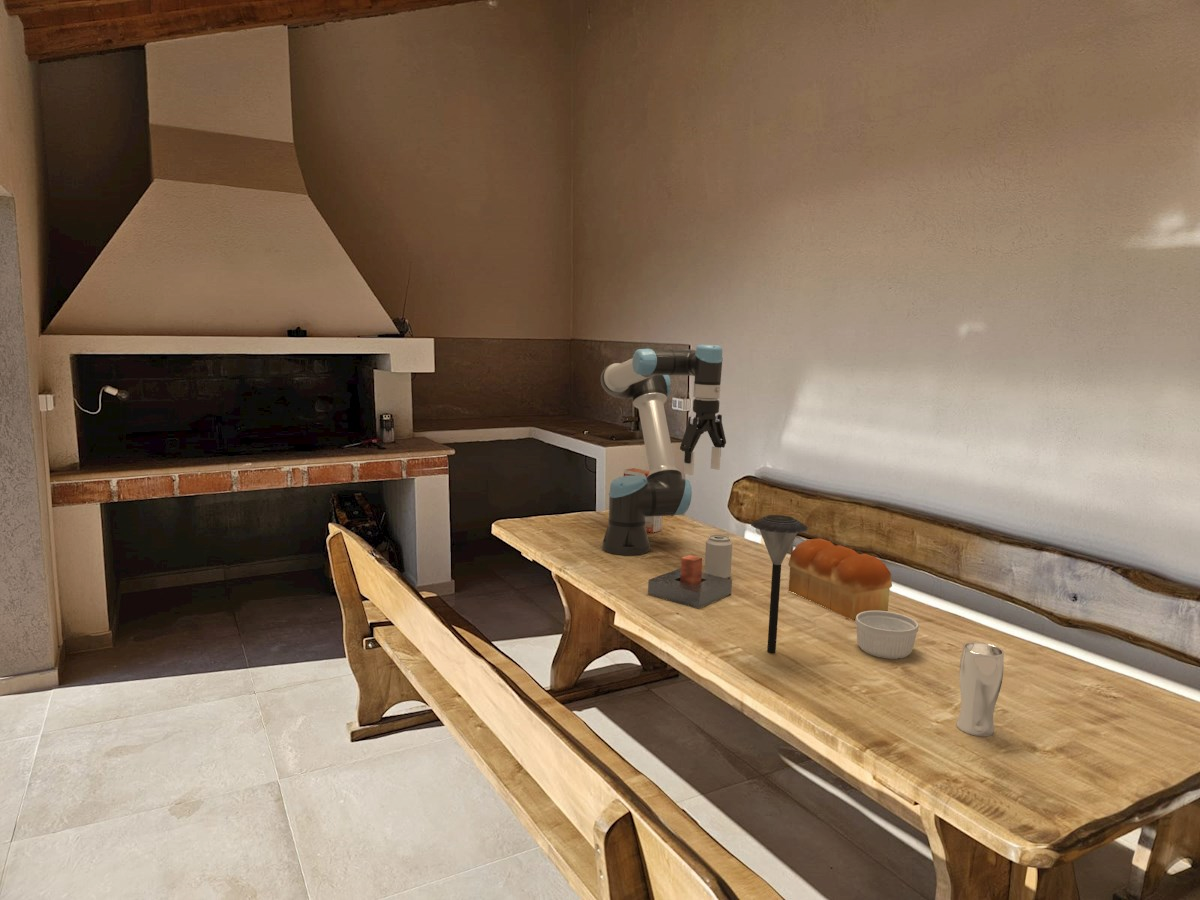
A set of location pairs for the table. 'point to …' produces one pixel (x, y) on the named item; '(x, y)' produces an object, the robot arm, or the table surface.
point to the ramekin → (886, 634)
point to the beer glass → (979, 687)
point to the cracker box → (651, 522)
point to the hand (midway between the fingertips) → (702, 471)
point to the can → (718, 556)
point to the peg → (691, 569)
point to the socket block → (689, 589)
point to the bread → (839, 578)
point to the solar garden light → (777, 559)
